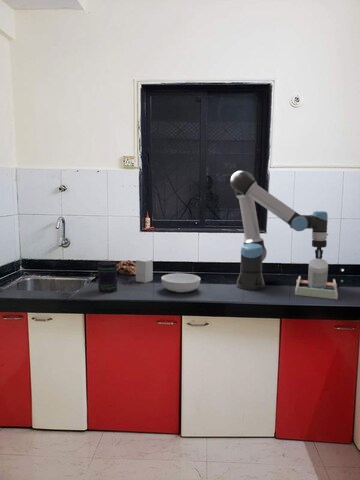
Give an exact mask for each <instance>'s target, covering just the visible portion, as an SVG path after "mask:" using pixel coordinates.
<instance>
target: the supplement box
mask: <svg viewBox="0 0 360 480" xmlns="http://www.w3.org/2000/svg"><path fill="white" fill-rule="evenodd" d="M153 261H154V260H153V259H149V258H140V259H136V260H135V282H138V283H144V284H146V283H149V282H152V281H153V279H154V276H153V275H154V273H153V268H154V267H153Z"/></svg>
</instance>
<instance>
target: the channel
mask: <svg viewBox="0 0 360 480" xmlns="http://www.w3.org/2000/svg"><path fill="white" fill-rule="evenodd" d="M301 278H302V277H301V275H299V276H298V277H297V280H298V281H297V280H296V281H297V283H296V286H295V289H294V296H302V297H312V298H319V299H322V298H323V299H331V300H338V296H339V294H338V288H337V287H338V286H337V287H336V279H335V278H332V283H333V286H332V287H333V289H329V288H328V289H326V288H324V289H318V288H310V287H309V286H308V287H306V286H305V287H304V286H300V284H301V283H300V280H301Z"/></svg>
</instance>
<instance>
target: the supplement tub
mask: <svg viewBox="0 0 360 480" xmlns="http://www.w3.org/2000/svg"><path fill="white" fill-rule="evenodd" d="M328 272H329V263H328V261H326V260H325V259H323V258H322V259H316V258H313V259H310V261H309V262H308V276H307V280H308V284H307V285H308V288H318V289H326V287H327V286H326V285H327V282H328V276H329V275H328Z"/></svg>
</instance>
